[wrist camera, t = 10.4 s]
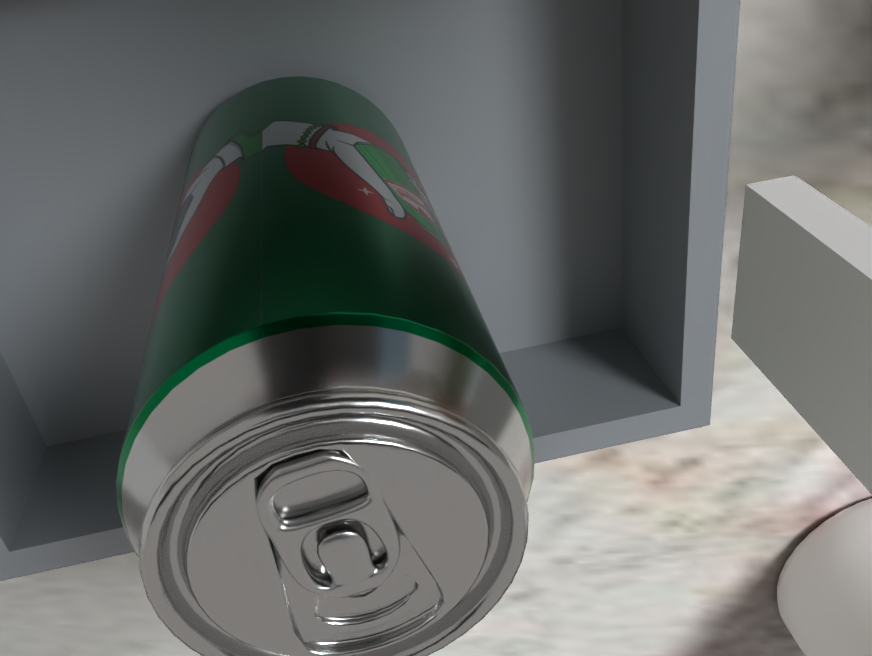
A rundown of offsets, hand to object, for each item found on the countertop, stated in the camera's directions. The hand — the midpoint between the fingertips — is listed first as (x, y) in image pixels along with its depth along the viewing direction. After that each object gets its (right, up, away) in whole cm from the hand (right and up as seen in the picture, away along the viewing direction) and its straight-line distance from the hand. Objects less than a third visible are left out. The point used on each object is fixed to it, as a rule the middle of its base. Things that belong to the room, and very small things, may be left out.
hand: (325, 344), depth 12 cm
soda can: (-2, +4, +7) cm, 8 cm away
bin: (-2, +4, +8) cm, 9 cm away
